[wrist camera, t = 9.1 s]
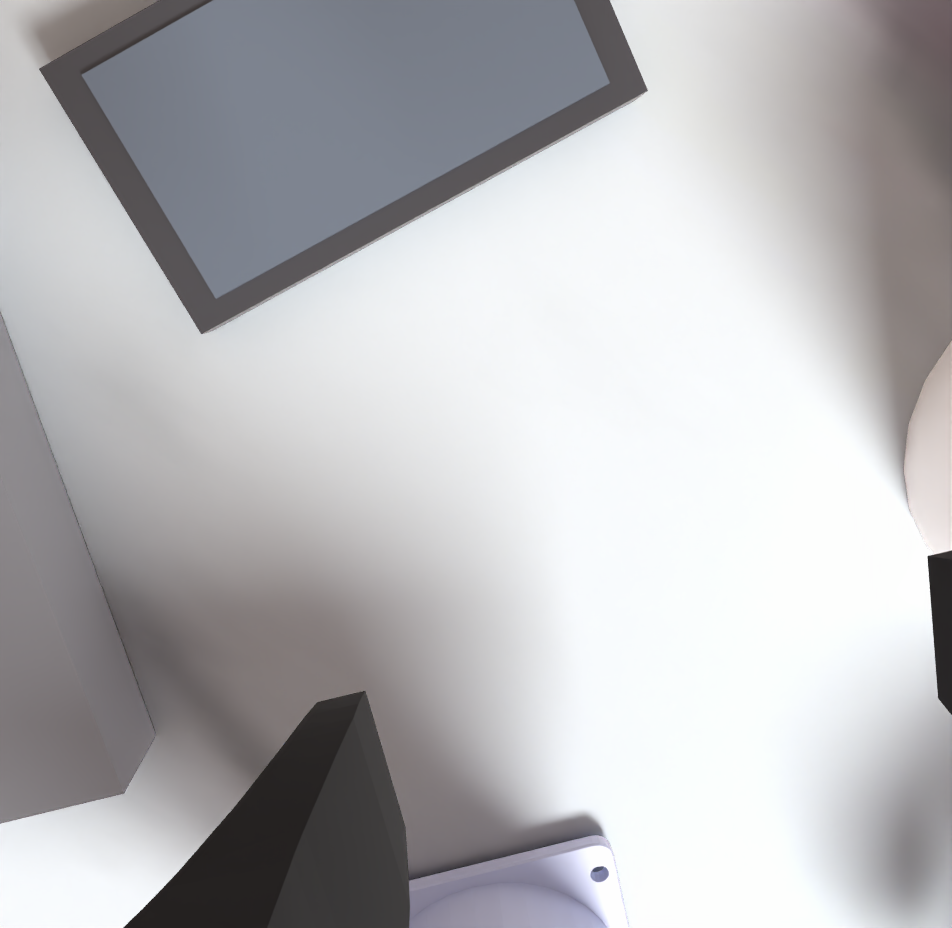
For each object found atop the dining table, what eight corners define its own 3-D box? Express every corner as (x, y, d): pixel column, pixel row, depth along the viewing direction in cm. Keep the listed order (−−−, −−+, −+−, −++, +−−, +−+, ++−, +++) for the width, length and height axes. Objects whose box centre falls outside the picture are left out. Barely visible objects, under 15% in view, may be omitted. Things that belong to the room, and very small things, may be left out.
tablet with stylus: (708, 60, 18) (727, 47, 17) (212, 330, 19) (200, 334, 17) (555, -321, 16) (565, -363, 15) (7, -6, 17) (-20, -25, 16)
